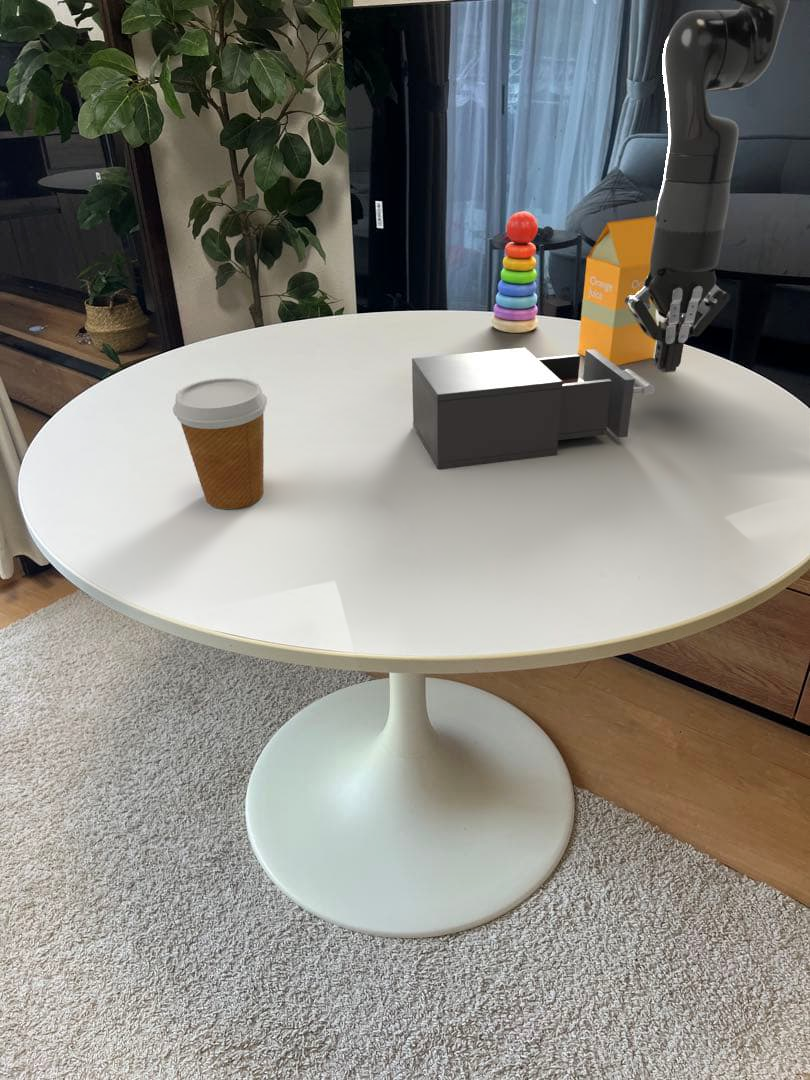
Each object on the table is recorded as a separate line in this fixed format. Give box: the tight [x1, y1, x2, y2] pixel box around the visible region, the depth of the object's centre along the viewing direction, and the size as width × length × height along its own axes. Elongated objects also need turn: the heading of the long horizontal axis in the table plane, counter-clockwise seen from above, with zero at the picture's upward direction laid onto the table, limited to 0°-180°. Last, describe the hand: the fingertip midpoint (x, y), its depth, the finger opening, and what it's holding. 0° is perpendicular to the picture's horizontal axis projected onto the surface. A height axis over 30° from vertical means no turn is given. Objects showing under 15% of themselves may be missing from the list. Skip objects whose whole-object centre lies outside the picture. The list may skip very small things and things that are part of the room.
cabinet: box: [411, 347, 563, 470], centre depth 95 cm, size 15×13×9 cm
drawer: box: [536, 349, 655, 441], centre depth 97 cm, size 18×11×7 cm, turn 102°
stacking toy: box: [491, 211, 539, 334], centre depth 132 cm, size 8×8×19 cm
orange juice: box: [577, 215, 657, 366], centre depth 118 cm, size 8×9×20 cm
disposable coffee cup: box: [172, 377, 268, 510], centre depth 83 cm, size 10×10×12 cm
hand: (666, 370), depth 98 cm, fingers closed
